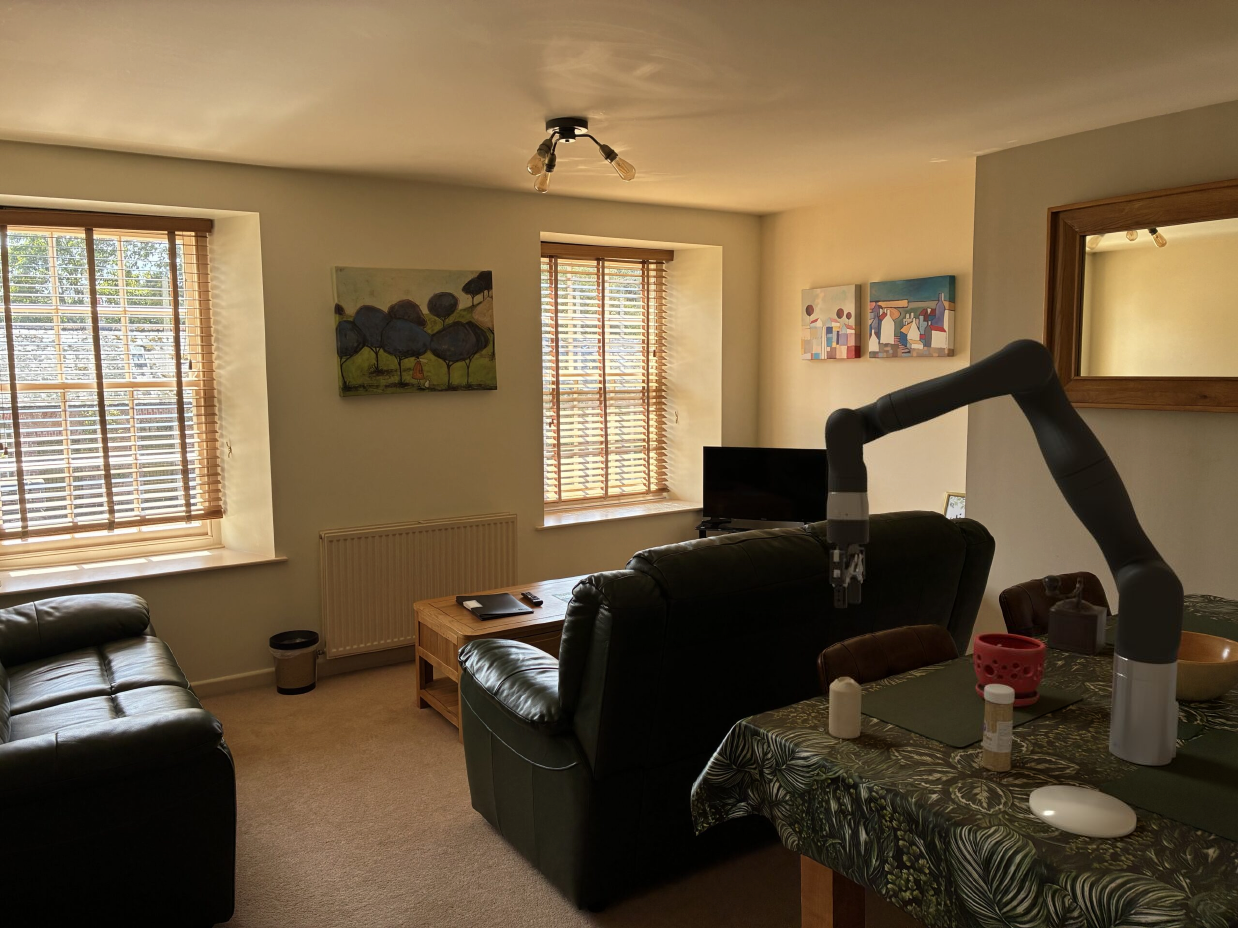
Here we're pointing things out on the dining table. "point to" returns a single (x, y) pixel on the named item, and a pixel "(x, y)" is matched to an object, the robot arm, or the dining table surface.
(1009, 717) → the sprinkles bottle
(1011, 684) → the plant pot
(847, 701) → the candle
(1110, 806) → the cream plate
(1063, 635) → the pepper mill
